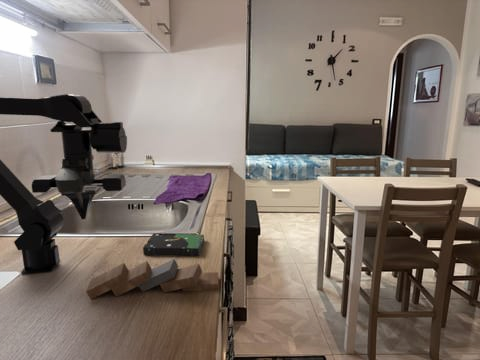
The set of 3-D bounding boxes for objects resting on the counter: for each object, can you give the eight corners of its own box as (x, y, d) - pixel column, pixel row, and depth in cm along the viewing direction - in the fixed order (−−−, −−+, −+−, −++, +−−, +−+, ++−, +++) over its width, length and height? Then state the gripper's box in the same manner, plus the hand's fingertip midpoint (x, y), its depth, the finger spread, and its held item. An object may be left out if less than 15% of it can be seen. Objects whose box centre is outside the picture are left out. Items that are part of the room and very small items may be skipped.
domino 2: (111, 289, 68) (145, 272, 68) (115, 277, 72) (147, 261, 73) (116, 296, 68) (150, 279, 69) (119, 284, 73) (151, 268, 74)
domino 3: (137, 284, 70) (169, 269, 69) (144, 272, 74) (174, 258, 74) (142, 291, 70) (174, 277, 69) (148, 279, 75) (178, 266, 74)
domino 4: (160, 284, 69) (192, 276, 68) (168, 271, 74) (198, 263, 72) (163, 292, 70) (196, 285, 68) (171, 279, 75) (202, 271, 73)
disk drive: (143, 257, 87) (200, 257, 87) (142, 247, 86) (199, 247, 86) (153, 241, 97) (204, 241, 97) (152, 232, 96) (204, 232, 96)
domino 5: (182, 284, 70) (218, 283, 71) (184, 273, 75) (218, 272, 76) (182, 293, 71) (218, 292, 71) (184, 281, 76) (218, 280, 76)
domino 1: (85, 291, 67) (120, 274, 67) (91, 279, 71) (124, 262, 72) (91, 299, 67) (125, 282, 68) (96, 286, 72) (128, 270, 73)
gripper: (14, 158, 66) (24, 233, 69) (113, 157, 68) (118, 229, 72) (39, 150, 76) (46, 215, 80) (124, 150, 79) (128, 213, 82)
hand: (84, 218), depth 78 cm, fingers closed
